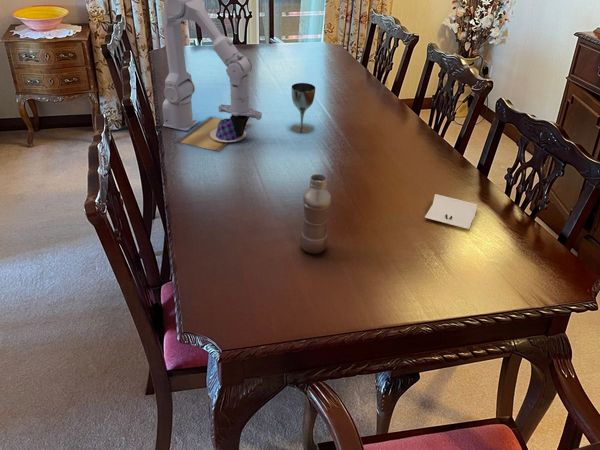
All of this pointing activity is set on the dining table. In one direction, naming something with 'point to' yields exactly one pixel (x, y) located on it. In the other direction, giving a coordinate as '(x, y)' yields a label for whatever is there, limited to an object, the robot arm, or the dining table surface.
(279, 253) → the dining table surface
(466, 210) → the folded paper
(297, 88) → the wine glass
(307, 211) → the plastic bottle
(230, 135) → the pudding
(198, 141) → the placemat
